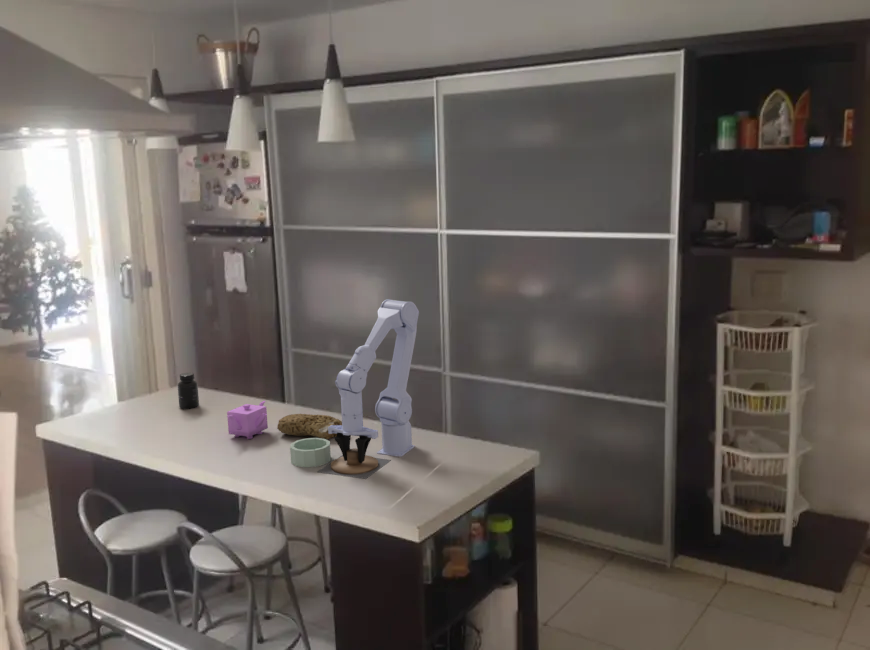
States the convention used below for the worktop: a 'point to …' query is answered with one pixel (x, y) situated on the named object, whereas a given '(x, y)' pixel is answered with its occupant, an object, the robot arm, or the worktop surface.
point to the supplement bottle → (188, 391)
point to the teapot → (247, 420)
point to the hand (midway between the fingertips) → (354, 460)
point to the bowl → (310, 452)
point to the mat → (328, 470)
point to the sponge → (308, 425)
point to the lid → (354, 463)
